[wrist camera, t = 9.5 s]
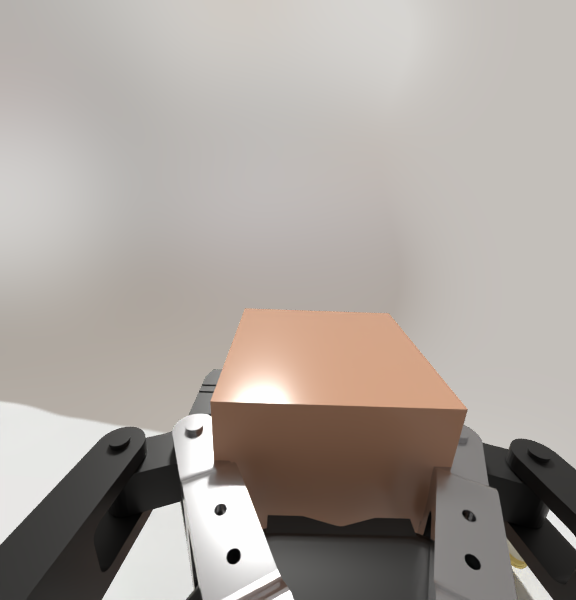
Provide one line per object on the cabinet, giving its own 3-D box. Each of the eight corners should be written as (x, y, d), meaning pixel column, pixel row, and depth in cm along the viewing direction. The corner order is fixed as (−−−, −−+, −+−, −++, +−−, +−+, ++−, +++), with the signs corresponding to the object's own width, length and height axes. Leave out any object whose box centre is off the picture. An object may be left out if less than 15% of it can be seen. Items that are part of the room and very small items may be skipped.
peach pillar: (223, 629, 10) (210, 401, 7) (246, 472, 16) (244, 308, 13) (405, 633, 10) (467, 409, 7) (363, 475, 16) (388, 313, 13)
